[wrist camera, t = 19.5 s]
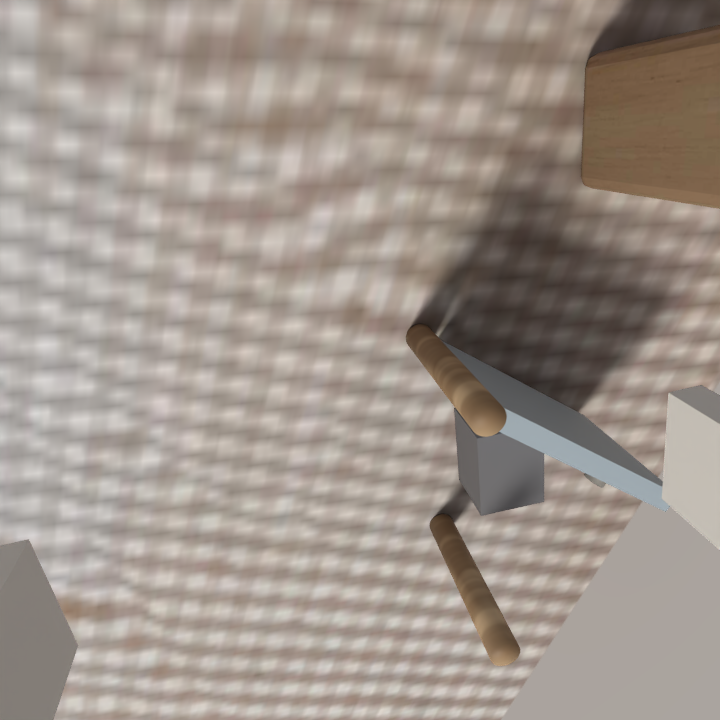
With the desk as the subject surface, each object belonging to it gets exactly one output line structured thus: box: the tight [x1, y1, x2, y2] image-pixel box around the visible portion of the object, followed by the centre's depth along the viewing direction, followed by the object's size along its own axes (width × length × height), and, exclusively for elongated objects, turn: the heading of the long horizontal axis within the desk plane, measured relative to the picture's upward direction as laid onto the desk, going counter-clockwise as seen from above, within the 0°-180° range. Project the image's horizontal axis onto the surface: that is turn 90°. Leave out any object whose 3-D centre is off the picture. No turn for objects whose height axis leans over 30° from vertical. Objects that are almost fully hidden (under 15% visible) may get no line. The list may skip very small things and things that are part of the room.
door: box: [441, 340, 670, 512], centre depth 47 cm, size 17×4×14 cm, turn 60°
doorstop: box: [454, 408, 544, 516], centre depth 53 cm, size 8×6×6 cm
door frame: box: [406, 324, 520, 666], centre depth 47 cm, size 23×2×16 cm, turn 9°
